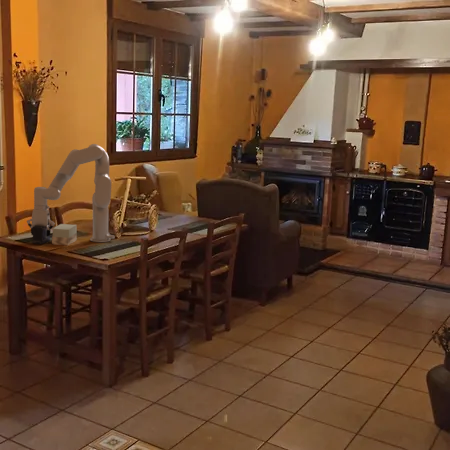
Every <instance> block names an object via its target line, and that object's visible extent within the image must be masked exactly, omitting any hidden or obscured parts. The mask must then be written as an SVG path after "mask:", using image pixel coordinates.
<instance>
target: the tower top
mask: <svg viewBox="0 0 450 450" xmlns="http://www.w3.org/2000/svg"><path fill="white" fill-rule="evenodd" d="M77 226H78V225H77V224H66V223H60V224H58V225H56V226H54V227H52V236H53V237H64V238H69V237H71V236H73V235H74V234H76V233H77V232H78V231H77Z"/></svg>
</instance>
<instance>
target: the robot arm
mask: <svg viewBox="0 0 450 450" xmlns="http://www.w3.org/2000/svg"><path fill="white" fill-rule="evenodd" d="M91 162H94V165H95V166H94V167H95V168H94V169H95V170H94V180H93V181H94V185H95V186H94V187H95V188H94V193H93V194H92V197H91V199H92V200H91V201H92V204H91V205H92V236H91V237H90V239H89V240H90V241H91V242H93V243H107V242H111V241H112V240H111V239H115V237H116V236H115V235H114V234H110V232H109V205H110V204H111V197H112V179H111V177H110V157H109V155H108V152H107V151H106V150H105V149H104V148H103V147H102V146H100V145H99V144H96V143H92V144H90V145H88V147H86V148H82V149H72V150H70V152H69V153H68V154H67V156H66V157H65V160H64V161H63V163H62V165H61V166H60V168H59V170H58V171H57V173H56V175H55V176H54V177H53V179H52V180H51V182H50V184H49V186H48V187H46V186H45V187H44V186H37V187H34V189H33V209H32V213H31V214H32V215H31V218H30V219H28V220H26V223H27V226H28V227H29V229H30V233H31V234H30V235H31V236H33V226H44V227H46V228H47V229H48V230H47V236H50V237H51V230H52V229H53V228H54V227H55V224H56V223H55V222H54V221H52V220H51V217H50V216H51V215H50V210H49V209H50V206H49V205H48V201H49V200H50V201H56V200H59V199H60V198H61V195H62V193H61V191H62V190H63V188H64V186H65V185H66V184H67V183H68V181H69V180H71V179H72V178H73V176H74V175H75V173H76V172H77V169H78V168H79V166H80V165H84V164H88V163H91ZM49 225H50V226H49Z"/></svg>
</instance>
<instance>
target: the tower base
mask: <svg viewBox="0 0 450 450" xmlns="http://www.w3.org/2000/svg"><path fill="white" fill-rule="evenodd" d="M77 236H78V235H77V233H76V234H74V235H73V236H71V237H69V238H64V237H53V235H52V236H51V244H52V245H55V246H57V245H58V246H69V245H71V244H73V243H74V242H76V241H77V240H78V239H77Z"/></svg>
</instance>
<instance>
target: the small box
mask: <svg viewBox="0 0 450 450" xmlns="http://www.w3.org/2000/svg"><path fill="white" fill-rule="evenodd" d="M49 226H51V224H50V225H49ZM47 230H48V229H47V228H46V227H44V226H33V235H32V244H37V245H43V244H45V243H48V242H49V241H51V235H50V236H47Z"/></svg>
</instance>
